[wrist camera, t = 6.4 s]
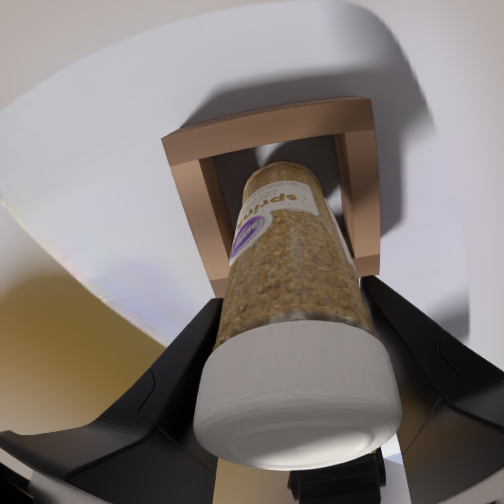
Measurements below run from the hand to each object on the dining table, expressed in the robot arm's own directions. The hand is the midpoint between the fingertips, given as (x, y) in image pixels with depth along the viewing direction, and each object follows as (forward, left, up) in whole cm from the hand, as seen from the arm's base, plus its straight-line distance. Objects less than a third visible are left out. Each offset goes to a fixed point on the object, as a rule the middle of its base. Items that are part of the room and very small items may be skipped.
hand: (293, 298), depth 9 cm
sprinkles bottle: (0, 0, -9) cm, 9 cm away
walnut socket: (0, 0, -9) cm, 9 cm away
